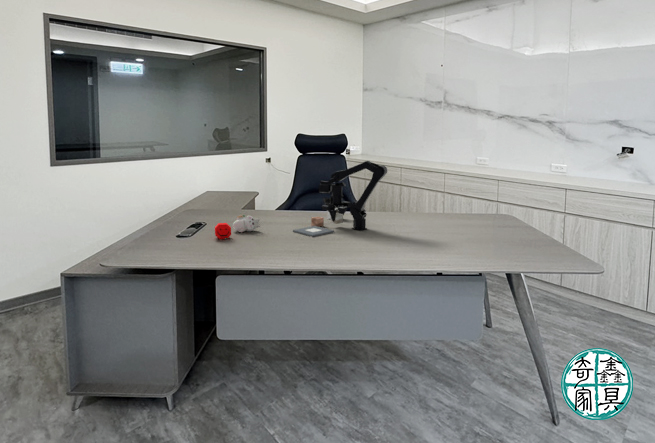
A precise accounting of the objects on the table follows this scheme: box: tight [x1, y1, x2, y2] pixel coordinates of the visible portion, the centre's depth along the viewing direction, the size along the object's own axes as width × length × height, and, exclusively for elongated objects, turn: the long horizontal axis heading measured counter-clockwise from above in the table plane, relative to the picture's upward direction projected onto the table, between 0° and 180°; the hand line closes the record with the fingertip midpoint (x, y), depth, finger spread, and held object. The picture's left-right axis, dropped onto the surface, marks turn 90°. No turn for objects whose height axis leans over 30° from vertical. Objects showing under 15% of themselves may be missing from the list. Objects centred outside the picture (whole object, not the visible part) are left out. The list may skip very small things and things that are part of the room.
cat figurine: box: [232, 214, 261, 233], centre depth 272 cm, size 10×8×15 cm
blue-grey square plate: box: [292, 226, 335, 238], centre depth 271 cm, size 16×16×1 cm
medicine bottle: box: [326, 204, 339, 220], centre depth 306 cm, size 7×7×12 cm
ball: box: [214, 222, 232, 240], centre depth 256 cm, size 8×8×8 cm
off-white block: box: [330, 213, 344, 225], centre depth 282 cm, size 5×5×5 cm
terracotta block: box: [310, 216, 325, 227], centre depth 286 cm, size 5×5×5 cm
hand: (336, 220), depth 283 cm, fingers closed on off-white block, 5 cm apart
